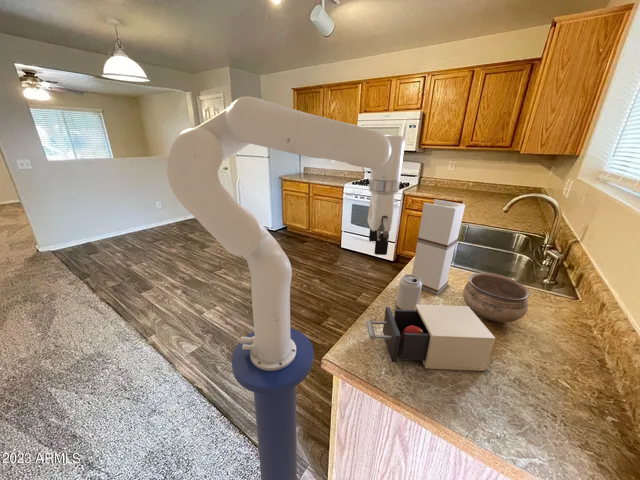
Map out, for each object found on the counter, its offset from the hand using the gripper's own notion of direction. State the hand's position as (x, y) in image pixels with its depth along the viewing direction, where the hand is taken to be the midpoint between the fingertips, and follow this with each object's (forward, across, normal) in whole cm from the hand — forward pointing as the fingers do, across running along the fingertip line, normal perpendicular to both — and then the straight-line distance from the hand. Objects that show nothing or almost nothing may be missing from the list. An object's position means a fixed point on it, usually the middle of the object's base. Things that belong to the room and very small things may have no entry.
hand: (377, 247), depth 74 cm
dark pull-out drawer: (+27, +8, +8) cm, 30 cm away
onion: (+26, +8, +9) cm, 29 cm away
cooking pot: (+28, -10, +44) cm, 53 cm away
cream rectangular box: (+28, +8, +21) cm, 36 cm away
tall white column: (+28, -30, +30) cm, 51 cm away
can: (+28, -13, +16) cm, 35 cm away
